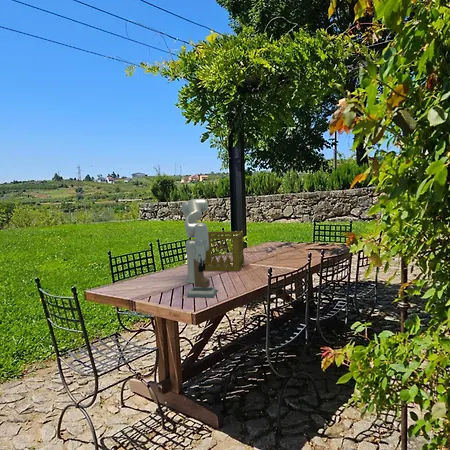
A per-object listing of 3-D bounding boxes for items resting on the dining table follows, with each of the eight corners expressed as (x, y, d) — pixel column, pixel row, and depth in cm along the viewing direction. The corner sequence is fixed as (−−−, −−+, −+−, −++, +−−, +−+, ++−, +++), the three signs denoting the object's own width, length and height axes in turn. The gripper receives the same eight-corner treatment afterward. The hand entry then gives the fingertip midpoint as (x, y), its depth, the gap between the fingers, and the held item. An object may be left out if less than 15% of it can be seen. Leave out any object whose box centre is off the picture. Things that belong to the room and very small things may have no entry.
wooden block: (210, 286, 255) (208, 258, 253) (206, 288, 251) (204, 260, 249) (198, 284, 260) (197, 258, 258) (194, 286, 256) (193, 259, 254)
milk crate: (206, 263, 367) (205, 231, 364) (244, 263, 361) (243, 231, 358) (197, 271, 332) (196, 236, 329) (239, 271, 326) (238, 235, 323)
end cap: (192, 291, 265) (192, 286, 265) (217, 291, 262) (217, 286, 262) (187, 297, 249) (186, 292, 249) (213, 297, 247) (213, 292, 246)
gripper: (198, 241, 262) (199, 268, 264) (192, 244, 245) (193, 273, 247) (209, 241, 261) (210, 268, 262) (203, 244, 244) (204, 273, 246)
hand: (201, 270), depth 255 cm, fingers closed on wooden block, 5 cm apart
